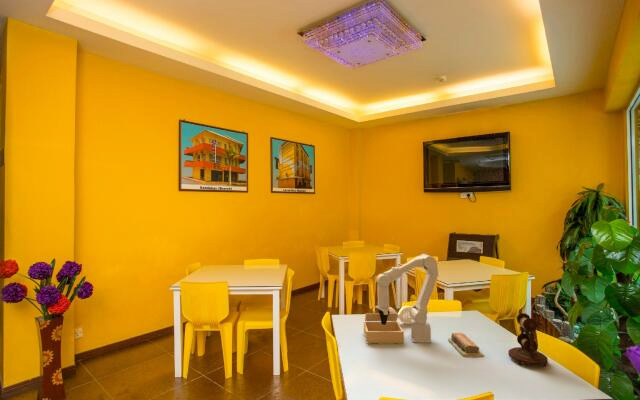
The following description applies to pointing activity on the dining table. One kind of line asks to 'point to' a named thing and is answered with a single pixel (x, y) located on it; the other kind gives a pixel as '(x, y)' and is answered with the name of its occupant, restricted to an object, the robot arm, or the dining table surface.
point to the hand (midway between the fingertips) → (383, 324)
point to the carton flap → (377, 317)
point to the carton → (383, 332)
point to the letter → (403, 314)
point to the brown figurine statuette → (527, 343)
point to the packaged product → (464, 345)
